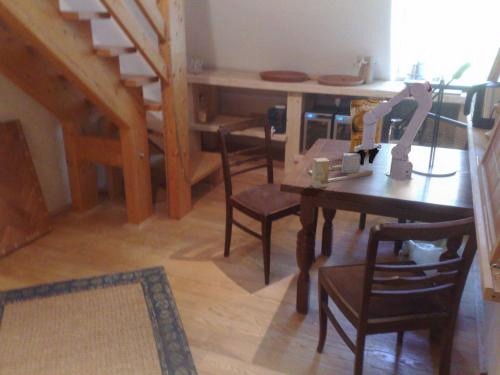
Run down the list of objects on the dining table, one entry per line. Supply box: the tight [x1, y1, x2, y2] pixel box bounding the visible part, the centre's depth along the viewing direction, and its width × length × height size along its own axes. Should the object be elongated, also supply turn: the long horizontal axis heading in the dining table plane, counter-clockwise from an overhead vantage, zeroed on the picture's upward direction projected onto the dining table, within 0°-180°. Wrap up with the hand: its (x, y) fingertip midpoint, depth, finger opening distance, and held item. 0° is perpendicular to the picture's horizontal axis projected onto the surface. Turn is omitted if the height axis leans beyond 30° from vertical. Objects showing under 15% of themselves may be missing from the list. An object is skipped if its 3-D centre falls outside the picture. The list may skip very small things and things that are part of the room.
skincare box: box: [310, 157, 330, 189], centre depth 190 cm, size 6×4×12 cm
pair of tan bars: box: [331, 164, 374, 179], centre depth 209 cm, size 13×14×2 cm
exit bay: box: [308, 166, 348, 183], centre depth 204 cm, size 14×12×1 cm
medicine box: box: [341, 152, 361, 174], centre depth 207 cm, size 8×4×9 cm, turn 84°
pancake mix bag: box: [348, 98, 383, 154], centre depth 235 cm, size 7×19×28 cm, turn 99°
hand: (365, 164), depth 211 cm, fingers open, 5 cm apart
